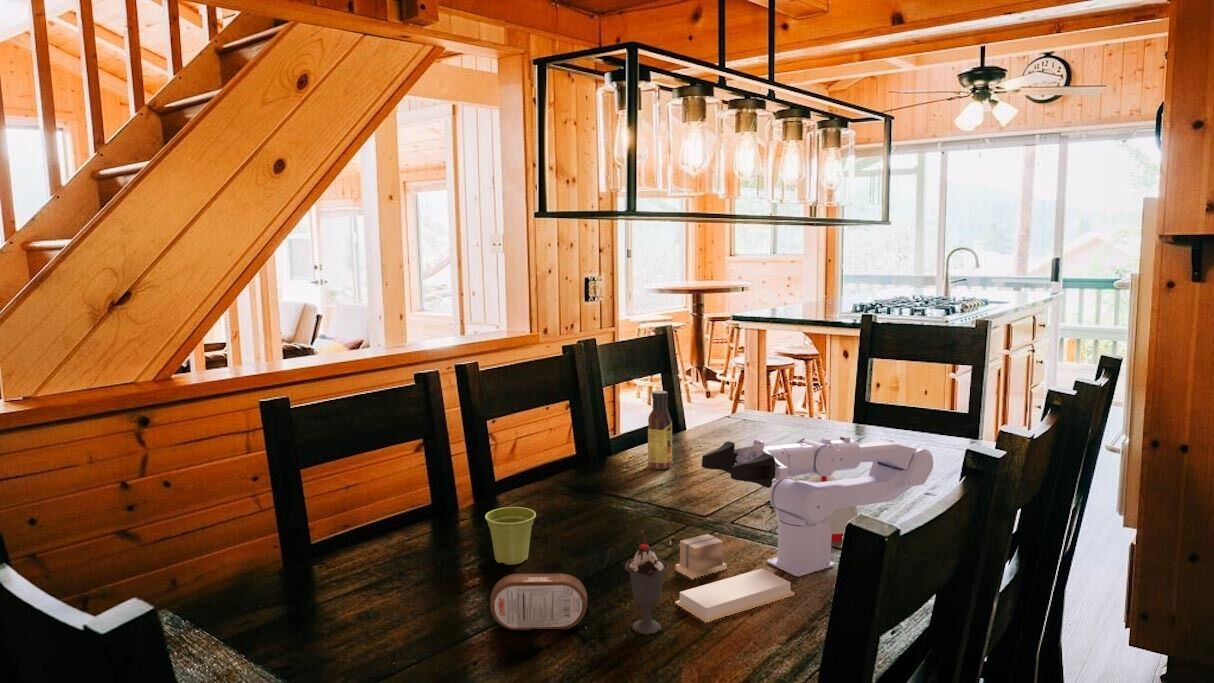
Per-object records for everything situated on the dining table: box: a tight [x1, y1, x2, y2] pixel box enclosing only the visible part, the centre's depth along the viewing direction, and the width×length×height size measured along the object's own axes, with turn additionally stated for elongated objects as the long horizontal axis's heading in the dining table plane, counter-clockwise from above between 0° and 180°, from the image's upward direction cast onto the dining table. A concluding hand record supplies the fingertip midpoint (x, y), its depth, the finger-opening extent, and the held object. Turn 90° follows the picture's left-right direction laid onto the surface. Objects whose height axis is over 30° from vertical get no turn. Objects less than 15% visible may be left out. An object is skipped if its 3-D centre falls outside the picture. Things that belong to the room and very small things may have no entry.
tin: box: [489, 573, 588, 631], centre depth 129 cm, size 15×3×8 cm, turn 92°
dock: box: [674, 568, 796, 624], centre depth 138 cm, size 8×19×2 cm, turn 122°
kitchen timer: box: [806, 474, 859, 543], centre depth 170 cm, size 14×14×15 cm
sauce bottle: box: [647, 390, 673, 470], centre depth 215 cm, size 6×6×20 cm
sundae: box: [624, 530, 670, 634], centre depth 128 cm, size 7×7×15 cm
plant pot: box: [484, 506, 537, 566], centre depth 156 cm, size 9×9×9 cm
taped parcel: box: [675, 533, 728, 580], centre depth 150 cm, size 8×5×6 cm, turn 122°
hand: (717, 467), depth 140 cm, fingers open, 7 cm apart
